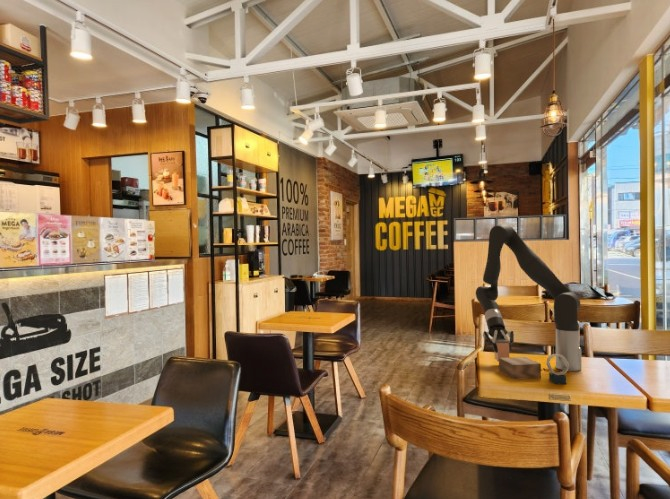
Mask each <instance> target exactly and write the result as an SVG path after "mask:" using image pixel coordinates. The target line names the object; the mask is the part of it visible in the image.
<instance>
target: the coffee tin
mask: <svg viewBox="0 0 670 499" xmlns="http://www.w3.org/2000/svg"><path fill="white" fill-rule="evenodd" d="M508 340H509V339H508ZM508 340H505V339H496V340H495V343H496V345H497V349H498V352H497V353H495V352H494V359H495V360H496V361H497V362H499V358H509V357H510V353H509V341H510V340H509V341H508Z"/></svg>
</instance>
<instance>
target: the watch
mask: <svg viewBox="0 0 670 499" xmlns="http://www.w3.org/2000/svg"><path fill="white" fill-rule="evenodd" d="M556 356H559V360H560V362H561V363H562V364H563V365H564V367H565V369H564V370H561V371H559V372H554V370H553V367H552V366H551V362H550V361H551V360H552V358H556ZM546 366H547V369H548V371H549V373H548V380H549V382H551V383H553V384H554V385H567V375H565V374H566V373H567V372H568V371H567V370H568V369H569V363H568V361H567V360H566V359H565V357H564V356H563V355H559V354H556V353H552V354H550V355H549V356H548V357H547V358H546Z"/></svg>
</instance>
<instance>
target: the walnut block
mask: <svg viewBox="0 0 670 499" xmlns="http://www.w3.org/2000/svg"><path fill="white" fill-rule="evenodd" d="M498 372H500V373H502V374H503V375H506V376H507V377H509V378H511V379H513V380H523V379H541V378H542V363H540V362H537V361H535V360H533V359H531V358H529V357H526V356H513V357H510V356H509V358H499V361H498Z"/></svg>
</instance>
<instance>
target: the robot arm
mask: <svg viewBox="0 0 670 499" xmlns="http://www.w3.org/2000/svg"><path fill="white" fill-rule="evenodd" d="M504 245H506V246H507V247H508V249H509V250H511V252H512V253H513V254H514V256H515V259H516V261H517V263H518V266H519V267H520V268H521V270H522V271H523V273H524V274H526V275H527V276H528V278H529V279H531V281H533V282H534V283H535V284H537V285H538V286H540V287H541V288H543V290H545V291H546V292H547V293H548V294H550V296H551V298H553V299H554V300H553V319H554V321H553V322H554V324H555V354H559V355H563V356H564V357H565V359H566V360H567V361H568V363H569V369H568V370H567V372H577V371H582V348H581V347H580V324H579V320H578V310H579V309H580V307H581V301H580V298H579V296H578V294H576V293H575V292H573V291H572V290H571V289H569V287H568V286H566V285H565V284H564V283H563V282H562V281H561V280H560V279H559V278H558V276H556V274H555V273H554V272H553V271H552V270H551V268H550V267H549V266H548V265H547V264H546V263H545V261H543V260H542V259H541V257H539V255H537V253H535V252H534V251H533V249H531V247H530V246H528V244H526V242H525V241H524V240H523V239H522V238H521V236H520V235H519V234H518V232H517V231H516V230H515V228H514V227H513V226H512V225H510V224H509V223H501V224H496V225H494V226H492V227H491V229H490V231H489V235H488V247H487V258H486V263H485V264H486V265H485V268H484V273H483V277H482V281H483V282H484V283H485V284H488V285H490V286H482V285H481V286H478V287H477V288H476V290H475V297H476V299H477V301H478V303H479V304H480V305H481V307H482V310H483V313H484V319H485V322H486V326H487V330H488V331H486V330H484V331H483V333H482V336H483V339H484V340H485V342H486V344H487V345H489V346H490V345H491V346H492V350H493V352H494V354H495V353H497V352H498V349H497V345H496V343H495V340H496V339H505V340H508V341H509V354H510V353H511V352H512V349H513V348H512V345H513V344H514V341H515V340H514V338H515V337H514V336H515V334H514V331H513V330H511V331H509V330H507V328H506V326H505V323H504V320H503V316H502V313H501V311H500V308H499V305H498V303H497V302H496V300H497V299H498V298H499V289H498V288H499V287H498V286H499V285H498V284H499V283H498V282H499V278H500V277H499V276H500V273H501V268H502V267H501V253H502V252H501V251H502V250H503V249H502V248H503V246H504ZM490 337H491V338H492V339H491V338H490ZM508 337H509V338H508ZM555 368H556V369H558V370H561V371H563V370H564V369H565V367H564V365H563V364H562V363H561V362H560V360H559V356H555Z"/></svg>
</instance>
